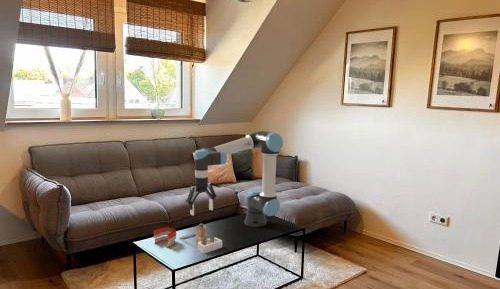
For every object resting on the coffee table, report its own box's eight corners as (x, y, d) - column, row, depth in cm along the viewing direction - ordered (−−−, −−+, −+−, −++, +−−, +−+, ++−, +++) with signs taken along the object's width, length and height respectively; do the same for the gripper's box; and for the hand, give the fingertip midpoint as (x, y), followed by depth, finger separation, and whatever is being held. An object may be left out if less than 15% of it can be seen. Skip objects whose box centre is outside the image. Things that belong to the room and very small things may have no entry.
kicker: (204, 241, 221) (204, 221, 219) (210, 244, 217) (210, 224, 215) (193, 244, 215) (193, 224, 213) (199, 247, 211) (199, 227, 209)
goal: (215, 243, 217) (215, 237, 217) (222, 247, 213) (222, 240, 212) (197, 249, 208) (197, 243, 208) (204, 253, 204) (204, 246, 203)
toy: (181, 242, 218) (181, 229, 217) (169, 248, 210) (168, 235, 208) (165, 238, 225) (165, 225, 224) (152, 243, 216) (152, 230, 215)
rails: (194, 234, 231) (194, 232, 231) (214, 244, 217) (214, 242, 217) (179, 239, 223) (179, 237, 223) (198, 249, 209) (198, 247, 209)
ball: (214, 248, 210) (210, 246, 213) (214, 241, 210) (209, 240, 213) (209, 250, 208) (205, 248, 211) (208, 243, 208) (204, 241, 210)
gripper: (214, 172, 222) (214, 206, 225) (179, 179, 205) (180, 215, 208) (222, 174, 217) (222, 209, 220) (186, 181, 200) (187, 218, 203)
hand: (201, 212), depth 214 cm, fingers open, 13 cm apart
